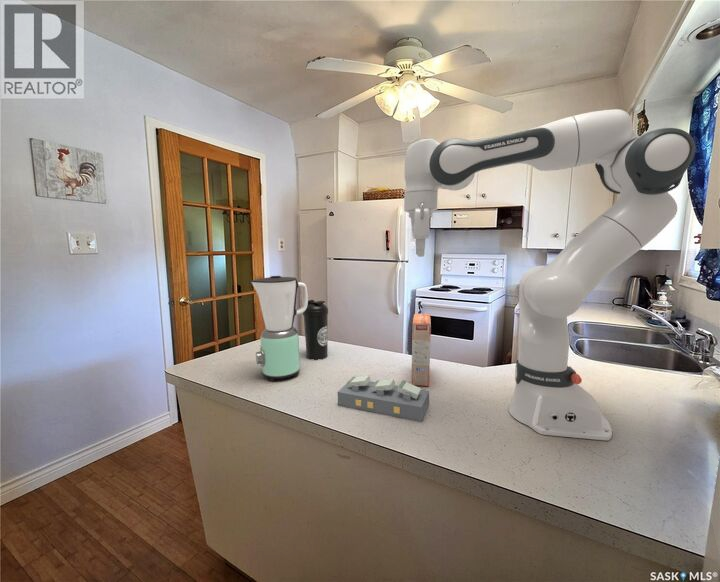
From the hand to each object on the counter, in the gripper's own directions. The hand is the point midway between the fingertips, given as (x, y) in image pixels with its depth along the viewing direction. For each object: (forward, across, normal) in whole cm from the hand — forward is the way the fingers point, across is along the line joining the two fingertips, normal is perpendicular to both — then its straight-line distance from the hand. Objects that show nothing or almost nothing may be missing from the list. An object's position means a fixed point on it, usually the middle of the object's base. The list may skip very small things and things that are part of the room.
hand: (419, 255), depth 91 cm
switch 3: (+36, -7, +3) cm, 37 cm away
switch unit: (+42, -5, +10) cm, 43 cm away
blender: (+42, +13, +47) cm, 64 cm away
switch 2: (+36, -5, +10) cm, 38 cm away
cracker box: (+42, +15, -2) cm, 45 cm away
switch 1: (+36, -3, +17) cm, 40 cm away
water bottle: (+42, +32, +40) cm, 66 cm away
